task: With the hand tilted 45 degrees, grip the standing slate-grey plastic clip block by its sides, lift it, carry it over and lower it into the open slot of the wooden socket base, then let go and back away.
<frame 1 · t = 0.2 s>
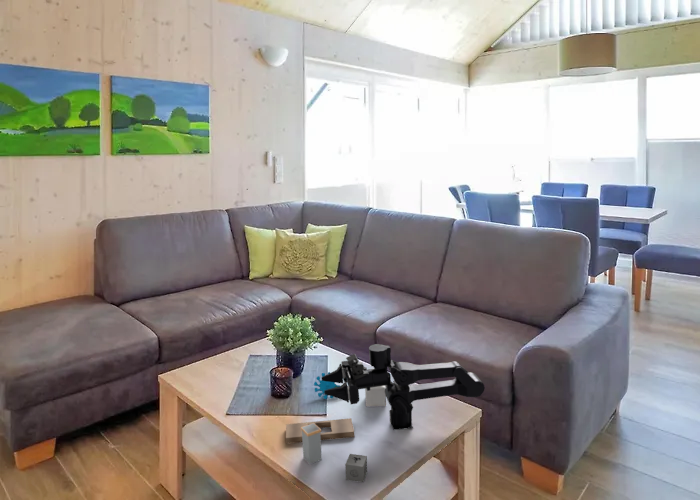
hand: (323, 385, 166), 17 cm above the table, tool horizontal, fingers open, 9 cm apart
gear: (329, 395, 194), on the table
wooden socket base: (319, 433, 170), on the table
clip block: (312, 458, 157), on the table
grey marked cube: (356, 476, 148), on the table
medicine bottle: (375, 402, 188), on the table
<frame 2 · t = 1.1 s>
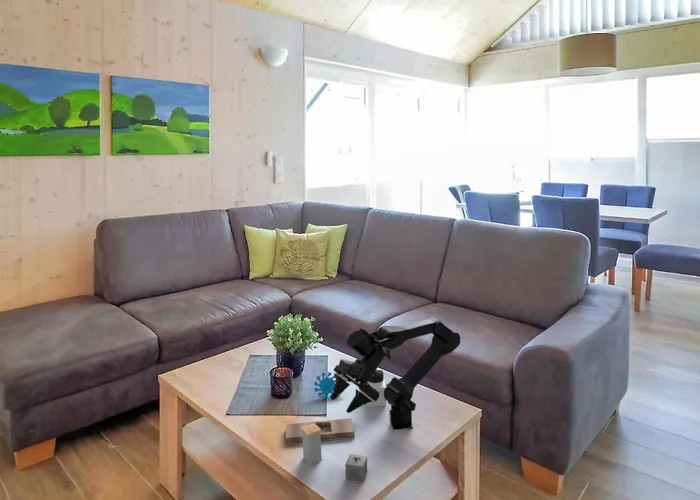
hand: (339, 405, 159), 14 cm above the table, tool tilted 45°, fingers open, 9 cm apart
nothing on the table moved.
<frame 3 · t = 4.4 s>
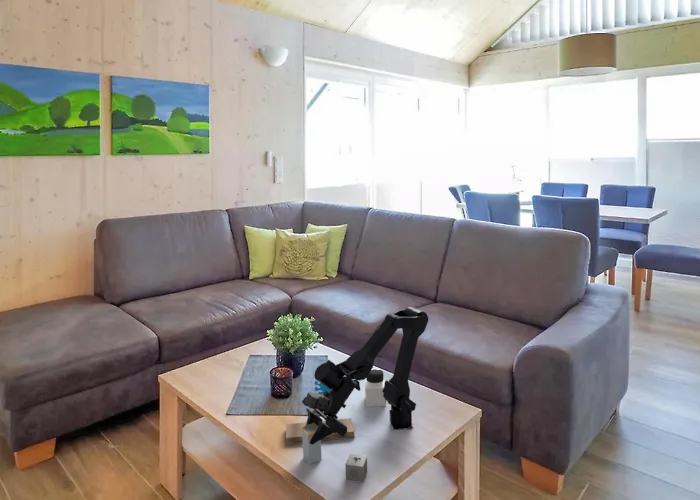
hand: (307, 440, 155), 7 cm above the table, tool tilted 45°, fingers closed on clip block, 4 cm apart
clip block: (312, 458, 157), on the table, touching gripper
everything else where it was.
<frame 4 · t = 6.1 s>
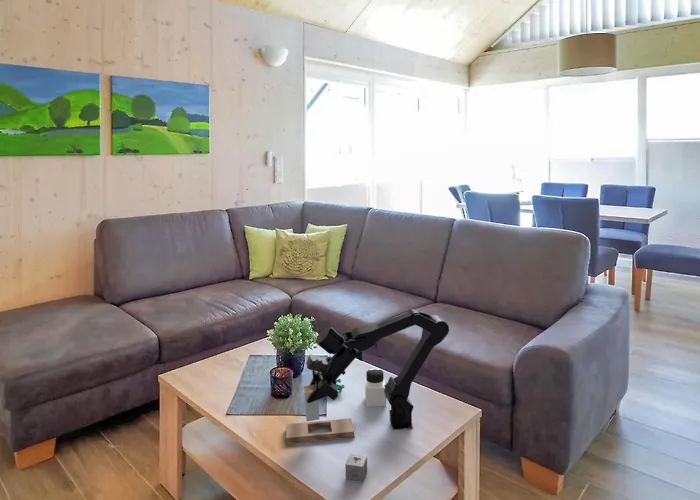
hand: (306, 398, 165), 13 cm above the table, tool tilted 45°, fingers closed on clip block, 4 cm apart
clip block: (312, 417, 167), point 7 cm above the table, touching gripper
everything else where it was.
when the fingers open (8 cm above the table, at t = 7.9 s): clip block drops 1 cm, resting in wooden socket base.
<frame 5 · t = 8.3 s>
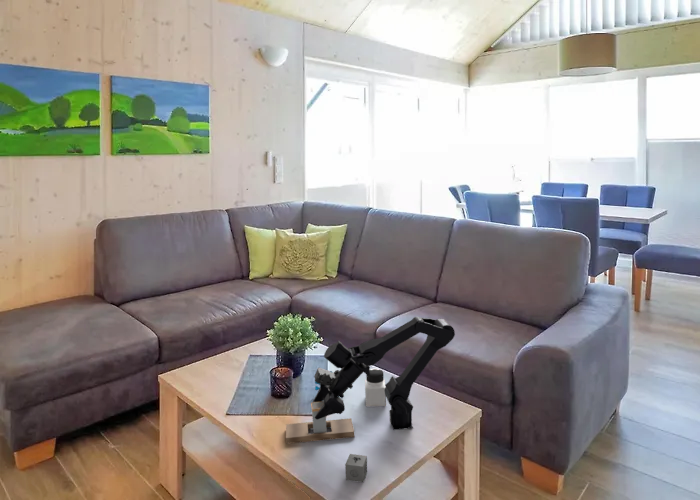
hand: (314, 411, 168), 8 cm above the table, tool tilted 45°, fingers open, 9 cm apart
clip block: (319, 433, 170), resting in wooden socket base
everything else where it was.
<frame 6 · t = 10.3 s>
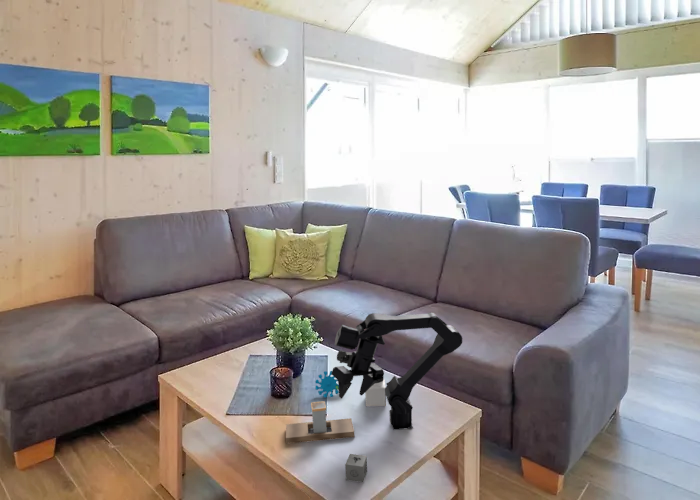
hand: (350, 396, 170), 11 cm above the table, tool tilted 20°, fingers open, 9 cm apart
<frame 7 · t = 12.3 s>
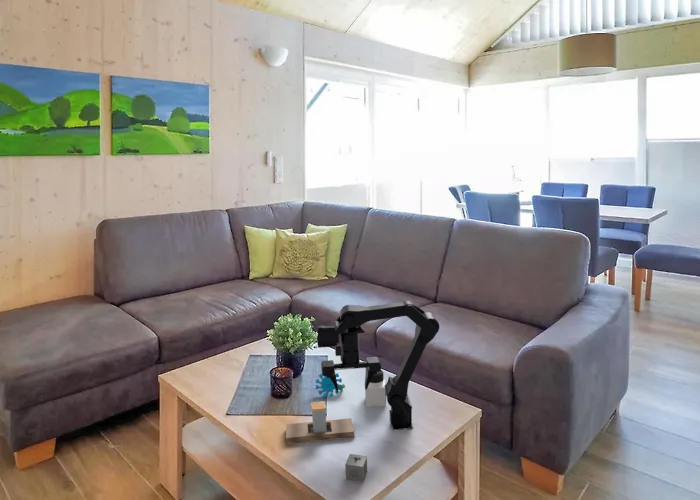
hand: (351, 390, 170), 13 cm above the table, tool pointing down, fingers open, 9 cm apart
at the end: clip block 0.0 cm off-centre on the wooden socket base, point 0.0 cm above the wooden socket base's base; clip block tilted 0°; the gripper is holding nothing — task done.
